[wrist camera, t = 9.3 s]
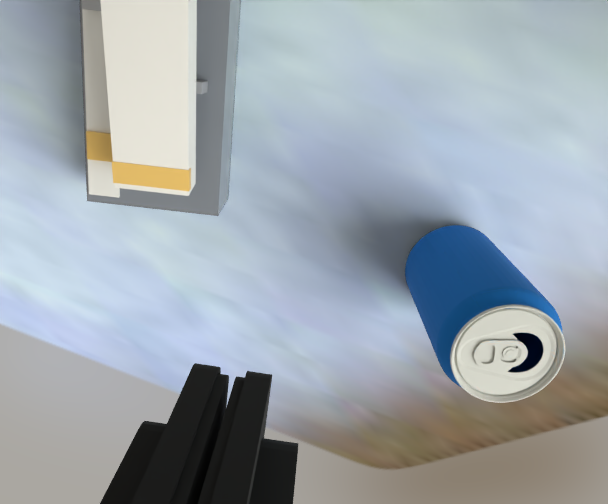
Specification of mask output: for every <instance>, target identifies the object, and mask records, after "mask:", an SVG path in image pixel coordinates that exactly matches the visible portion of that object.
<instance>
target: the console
mask: <svg viewBox="0 0 608 504" xmlns="http://www.w3.org/2000/svg"><path fill="white" fill-rule="evenodd" d="M240 3H241V0H197V46H196V184H195V185H194V187H193V189H192V191H191V192H190V194H189V196H184V195H175V194H166V193H158V192H149V191H140V190H132V189H123V188H115V183H113V174H112V161H113V157H112V144H111V131H110V118H109V105H108V92H107V79H106V66H105V53H104V40H103V27H102V14H101V1H100V0H80V22H81V49H82V76H83V103H84V130H85V157H86V184H87V201H92V202H101V203H109V204H118V205H127V206H136V207H145V208H153V209H162V210H171V211H180V212H188V213H197V214H206V215H215V216H218V215H219V213H220V212H221V210H222V208H223V207H224V205H225V203H226V201H227V200H228V192H229V176H230V160H231V145H232V129H233V113H234V97H235V82H236V66H237V50H238V34H239V19H240Z"/></svg>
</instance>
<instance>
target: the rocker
mask: <svg viewBox="0 0 608 504" xmlns="http://www.w3.org/2000/svg"><path fill="white" fill-rule="evenodd" d="M100 1H101V14H102V27H103V40H104V53H105V66H106V79H107V92H108V105H109V118H110V131H111V144H112V157H113V161H112V174H113V183H115V188H123V189H132V190H140V191H149V192H158V193H166V194H175V195H184V196H189V194H190V192H191V191H192V189H193V187H194V185H195V184H196V46H197V0H100Z"/></svg>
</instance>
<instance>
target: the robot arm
mask: <svg viewBox="0 0 608 504" xmlns="http://www.w3.org/2000/svg"><path fill="white" fill-rule="evenodd" d="M220 372H221V371H220V367H216V366H209V365H202V364H194V365H193V367H192V369H191V371H190V374H189V376H188V378H187V380H186V383H185V385H184V387H183V389H182V391H181V394H180V396H179V398H178V401H177V403H176V405H175V407H174V409H173V412H172V414H171V416H170V418H169V421H168V423H167V424H162V423H155V422H149V421H144V422H143V423H142V424H141V426H140V428H139V429H138V431H137V433H136V435H135V437H134V439H133V441H132V443H131V445H130V447H129V449H128V451H127V452H126V454H125V456H124V458H123V460H122V462H121V464H120V466H119V468H118V470H117V472H116V474H115V476H114V478H113V480H112V482H111V483H110V485H109V488H108V489H107V491H106V493H105V495H104V497H103V499H102V501H101V503H100V504H293V496H294V485H295V474H296V464H297V453H298V443H291V442H284V441H277V440H270V439H264V433H265V426H266V418H267V411H268V403H269V396H270V388H271V381H272V375H270V374H263V373H256V372H250V371H247V373H246V376H245V378H243V377H236V378H235V381H234V385H233V388H232V391H231V395H230V398H229V401H228V405H227V408H226V403H227V393H228V383H229V376H228V375H223V374H220Z"/></svg>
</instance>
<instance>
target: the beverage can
mask: <svg viewBox="0 0 608 504" xmlns="http://www.w3.org/2000/svg"><path fill="white" fill-rule="evenodd" d="M405 276H406V282H407V285H408V287H409V290H410V292H411V295H412V297H413V300H414V302H415V305H416V307H417V309H418V312H419V314H420V317H421V319H422V322H423V324H424V326H425V329H426V331H427V334H428V336H429V339H430V341H431V343H432V346H433V348H434V351H435V353H436V356H437V358H438V361H439V363H440V365H441V367H442V369H443V371H444V372H445V373H446V375H447V376H448V377H449V378H450V379H451V380H452V381H453V382H454V383H456V384H457V385H458V386H460V387H462V388H463V389H464V390H465V391H466V392H468V393H469V394H471V395H472V396H474V397H476V398H479V399H481V400H485V401H489V402H499V403H503V402H513V401H517V400H521V399H524V398H527V397H529V396H531V395H533V394H535V393H537V392H538V391H540V390H542V389H543V388H544V387H545V386H547V385H548V384H549V383H550V382H551V381H552V380H553V378H554V377H555V376H556V375H557V373H558V371H559V370H560V368H561V365H562V363H563V360H564V356H565V341H564V337H563V334H562V326H561V321H560V319H559V316H558V314H557V312H556V311H555V309H554V307H553V306H552V305H551V304H550V303H549V302H548V301H547V299H546V298H545V297H544V296H543V295H542V294H541V293H540V292H539V291H538V290H537V289H536V288H535V287H534V286H533V285H532V284H531V283H530V282H529V281H528V279H527V278H526V277H525V276H524V275H523V274H522V273H521V272H520V271H519V270H518V269H517V268H516V267H515V266H514V265H513V264H512V263H511V262H510V261H509V260H508V258H507V257H506V256H505V255H504V254H503V253H502V252H501V251H500V250H499V249H498V248H497V247H496V246H495V245H494V244H493V243H492V242H491V241H490V240H489V238H487V237H486V236H485V235H484V234H483V233H481V232H480V231H478V230H476V229H474V228H471V227H467V226H461V225H451V226H445V227H441V228H438V229H435V230H433V231H431V232H429V233H428V234H426V235H425V236H424V237H422V238H421V239H420V240H419V241H418V242H417V243H416V244H415V246H414V247H413V248H412V250H411V252H410V254H409V256H408V258H407V262H406V268H405Z"/></svg>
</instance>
